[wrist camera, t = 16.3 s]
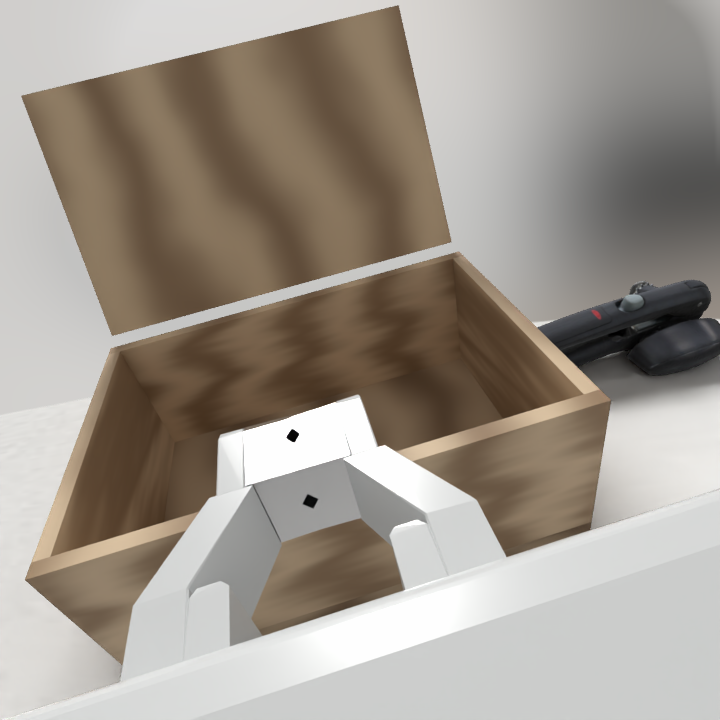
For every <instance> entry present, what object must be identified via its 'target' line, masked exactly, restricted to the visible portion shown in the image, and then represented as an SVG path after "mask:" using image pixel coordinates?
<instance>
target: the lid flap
mask: <svg viewBox="0 0 720 720" xmlns="http://www.w3.org/2000/svg"><path fill="white" fill-rule="evenodd" d="M22 99H23V102H24V104H25V107H26V110H27V112H28V115H29V118H30V120H31V123H32V126H33V128H34V131H35V133H36V136H37V139H38V141H39V144H40V147H41V149H42V152H43V155H44V157H45V160H46V163H47V165H48V168H49V170H50V173H51V176H52V178H53V181H54V183H55V186H56V189H57V192H58V194H59V197H60V199H61V202H62V205H63V207H64V210H65V213H66V215H67V218H68V221H69V223H70V226H71V229H72V231H73V234H74V236H75V239H76V242H77V244H78V247H79V250H80V252H81V255H82V258H83V260H84V263H85V266H86V268H87V271H88V273H89V276H90V279H91V281H92V284H93V287H94V289H95V292H96V295H97V297H98V300H99V303H100V305H101V308H102V310H103V313H104V316H105V318H106V321H107V324H108V326H109V329H110V332H111V334H112V335H117V334H121V333H124V332H127V331H131V330H135V329H138V328H142V327H146V326H149V325H153V324H157V323H160V322H164V321H168V320H171V319H175V318H178V317H182V316H186V315H189V314H193V313H196V312H200V311H204V310H207V309H211V308H215V307H218V306H222V305H225V304H229V303H233V302H236V301H240V300H244V299H247V298H251V297H254V296H258V295H262V294H265V293H269V292H273V291H276V290H280V289H283V288H287V287H291V286H294V285H298V284H301V283H305V282H309V281H312V280H316V279H320V278H323V277H327V276H331V275H334V274H338V273H341V272H345V271H349V270H352V269H356V268H359V267H363V266H366V265H370V264H373V263H377V262H381V261H385V260H388V259H392V258H396V257H399V256H403V255H406V254H410V253H413V252H417V251H421V250H425V249H428V248H432V247H435V246H439V245H443V244H446V243H450V242H451V238H450V233H449V229H448V224H447V220H446V215H445V211H444V206H443V202H442V197H441V193H440V188H439V184H438V179H437V175H436V170H435V166H434V162H433V157H432V153H431V149H430V144H429V139H428V135H427V131H426V126H425V121H424V117H423V112H422V108H421V104H420V99H419V95H418V90H417V86H416V81H415V77H414V72H413V68H412V63H411V59H410V55H409V50H408V45H407V41H406V37H405V32H404V28H403V23H402V19H401V14H400V10H399V6H394V7H389V8H385V9H381V10H377V11H373V12H369V13H365V14H360V15H356V16H352V17H348V18H344V19H339V20H335V21H331V22H327V23H323V24H319V25H314V26H311V27H307V28H302V29H298V30H294V31H289V32H285V33H281V34H277V35H273V36H269V37H265V38H260V39H257V40H252V41H248V42H244V43H239V44H236V45H231V46H227V47H223V48H219V49H215V50H210V51H206V52H202V53H198V54H194V55H189V56H185V57H181V58H177V59H173V60H169V61H164V62H160V63H156V64H152V65H148V66H144V67H139V68H135V69H131V70H127V71H123V72H119V73H114V74H110V75H106V76H102V77H98V78H94V79H89V80H85V81H81V82H77V83H73V84H69V85H65V86H60V87H56V88H52V89H48V90H44V91H40V92H35V93H31V94H27V95H23V96H22Z"/></svg>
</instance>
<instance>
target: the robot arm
mask: <svg viewBox="0 0 720 720" xmlns="http://www.w3.org/2000/svg"><path fill="white" fill-rule="evenodd" d="M336 404H337V405H336ZM337 408H338V409H337ZM359 518H362V520H363V521H364V522H365V523H366V524H367V525H368V526H370V527H371V528H372V529H373V530H374V531H375V532H376V533H377V534H379V535H380V536H381V537H382V538H383V539H384V540H385V541H386V542H388V543H389V544H390V545H391V546H392V547H393V551H394V555H395V559H396V563H397V567H398V571H399V575H400V579H401V583H402V587H403V591H401V592H397V593H394V594H391V595H388V596H385V597H382V598H379V599H376V600H373V601H370V602H367V603H363V604H360V605H357V606H354V607H351V608H348V609H345V610H342V611H339V612H336V613H333V614H329V615H326V616H323V617H320V618H317V619H314V620H311V621H308V622H305V623H302V624H299V625H295V626H292V627H289V628H286V629H283V630H280V631H277V632H274V633H271V634H268V635H264V636H262V634H261V633H260V631H259V630H258V628H257V627H256V625H255V624H254V622H253V621H252V619H251V618H252V615H253V613H254V611H255V608H256V606H257V603H258V601H259V599H260V596H261V594H262V591H263V589H264V587H265V584H266V582H267V579H268V577H269V575H270V572H271V570H272V567H273V565H274V563H275V560H276V558H277V556H278V553H279V551H280V548H281V546H282V544H281V543H282V542H285V541H288V540H291V539H293V538H296V537H299V536H302V535H305V534H308V533H311V532H314V531H317V530H320V529H323V528H327V527H331V526H334V525H338V524H341V523H345V522H348V521H352V520H355V519H359ZM3 720H720V489H717V490H714V491H711V492H708V493H704V494H701V495H698V496H695V497H692V498H689V499H686V500H683V501H680V502H677V503H673V504H670V505H667V506H664V507H661V508H658V509H655V510H652V511H649V512H646V513H642V514H639V515H636V516H633V517H630V518H627V519H624V520H621V521H618V522H615V523H611V524H608V525H605V526H602V527H599V528H596V529H593V530H590V531H587V532H583V533H580V534H577V535H574V536H571V537H568V538H565V539H562V540H559V541H556V542H552V543H549V544H546V545H543V546H540V547H537V548H534V549H531V550H528V551H525V552H521V553H518V554H515V555H512V556H509V557H506V555H505V553H504V551H503V549H502V548H501V546H500V544H499V542H498V540H497V538H496V536H495V534H494V532H493V530H492V528H491V526H490V525H489V523H488V521H487V519H486V517H485V515H484V513H483V511H482V509H481V507H480V505H479V503H478V502H477V500H476V499H475V498H473V497H471V496H470V495H468V494H466V493H464V492H463V491H461V490H459V489H458V488H456V487H454V486H453V485H451V484H449V483H448V482H446V481H444V480H443V479H441V478H439V477H438V476H436V475H434V474H433V473H431V472H429V471H428V470H426V469H424V468H422V467H421V466H419V465H417V464H416V463H414V462H412V461H411V460H409V459H407V458H406V457H404V456H402V455H401V454H399V453H397V452H396V451H394V450H392V449H391V448H389V447H387V446H386V445H385V446H381V447H378V445H377V442H376V439H375V436H374V434H373V431H372V428H371V425H370V422H369V419H368V417H367V414H366V411H365V408H364V405H363V403H362V400H361V397H360V396H359V395H355V396H352V397H348V398H345V399H342V400H339V401H336V402H334V403H331V404H328V405H324V406H321V407H317V408H314V409H311V410H307V411H304V412H301V413H297V414H294V415H290V416H287V417H283V418H279V419H275V420H272V421H268V422H264V423H260V424H257V425H253V426H249V427H245V428H244V429H239V430H236V431H232V432H228V433H225V434H221V435H220V437H219V439H218V457H217V489H216V496H214V497H211V498H209V499H208V500H207V502H206V503H205V505H204V506H203V507H202V509H201V510H200V512H199V513H198V514H197V516H196V517H195V519H194V520H193V522H192V523H191V524H190V526H189V527H188V529H187V530H186V531H185V533H184V534H183V536H182V537H181V539H180V540H179V541H178V543H177V544H176V546H175V547H174V548H173V550H172V551H171V553H170V554H169V556H168V557H167V558H166V560H165V561H164V563H163V564H162V566H161V567H160V568H159V570H158V571H157V573H156V574H155V575H154V577H153V578H152V580H151V581H150V583H149V584H148V585H147V587H146V588H145V590H144V591H143V592H142V594H141V595H140V597H139V598H138V600H137V601H136V602H135V604H134V605H133V608H132V614H131V620H130V626H129V632H128V638H127V643H126V649H125V655H124V661H123V667H122V672H121V678H120V682H118V683H115V684H112V685H109V686H105V687H102V688H99V689H96V690H93V691H90V692H87V693H84V694H81V695H77V696H74V697H71V698H68V699H65V700H62V701H59V702H56V703H53V704H50V705H46V706H43V707H40V708H37V709H34V710H31V711H28V712H25V713H22V714H19V715H15V716H12V717H9V718H6V719H3Z"/></svg>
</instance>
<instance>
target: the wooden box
mask: <svg viewBox="0 0 720 720" xmlns="http://www.w3.org/2000/svg"><path fill="white" fill-rule="evenodd" d="M355 395H359V396H360V397H361V400H362V403H363V405H364V408H365V411H366V414H367V417H368V419H369V422H370V425H371V428H372V431H373V434H374V436H375V439H376V442H377V445H378V447H381V446H385V445H386V446H387V447H389V448H391V449H392V450H394V451H396V452H397V453H399V454H401V455H402V456H404V457H406V458H407V459H409V460H411V461H412V462H414V463H416V464H417V465H419V466H421V467H422V468H424V469H426V470H428V471H429V472H431V473H433V474H434V475H436V476H438V477H439V478H441V479H443V480H444V481H446V482H448V483H449V484H451V485H453V486H454V487H456V488H458V489H459V490H461V491H463V492H464V493H466V494H468V495H470V496H471V497H473V498H475V499H476V500H477V502H478V503H479V505H480V507H481V509H482V511H483V513H484V515H485V517H486V519H487V521H488V523H489V525H490V526H491V528H492V530H493V532H494V534H495V536H496V538H497V540H498V542H499V544H500V546H501V548H502V549H503V551H504V553H505V555H506V557H509V556H512V555H515V554H518V553H521V552H524V551H527V550H530V549H534V548H537V547H540V546H543V545H546V544H549V543H552V542H555V541H558V540H561V539H564V538H567V537H570V536H574V535H577V534H580V533H583V532H586V531H589V530H590V527H591V521H592V515H593V509H594V503H595V496H596V490H597V484H598V478H599V472H600V466H601V459H602V453H603V447H604V441H605V435H606V428H607V422H608V416H609V410H610V404H611V400H610V399H609V398H608V397H607V396H606V395H605V394H604V393H603V392H602V391H601V390H600V389H599V388H598V387H597V386H596V385H595V384H594V383H593V382H592V381H591V380H590V379H589V378H588V377H587V376H586V375H585V374H584V373H583V372H582V371H581V370H580V369H579V368H578V367H577V366H576V365H575V364H573V363H572V362H571V361H570V360H569V359H568V358H567V357H566V356H565V355H564V354H563V353H562V352H561V351H560V350H559V349H558V348H557V347H556V346H555V345H554V344H553V343H552V342H551V341H550V340H549V339H548V338H547V337H546V336H545V335H544V334H543V333H542V332H541V331H540V330H539V329H538V328H537V327H536V326H535V325H534V324H533V323H532V322H531V321H529V320H528V319H527V318H526V317H525V316H524V315H523V314H522V313H521V312H520V311H519V310H518V309H517V308H516V307H515V306H514V305H513V304H512V303H511V302H510V301H509V300H508V299H507V298H506V297H505V296H504V295H503V294H502V293H501V292H500V291H499V290H498V289H497V288H496V287H495V286H494V285H493V284H492V283H490V281H489V280H487V279H486V278H485V277H484V276H483V275H482V274H481V273H480V272H479V271H478V270H477V269H476V268H475V267H474V266H473V265H472V264H471V263H470V262H469V261H468V260H467V259H466V258H465V257H464V256H463V255H462V254H461V253H460V252H456V253H452V254H449V255H445V256H441V257H438V258H434V259H430V260H427V261H423V262H420V263H416V264H412V265H409V266H406V267H402V268H398V269H395V270H391V271H387V272H384V273H380V274H377V275H373V276H369V277H366V278H362V279H359V280H355V281H351V282H348V283H344V284H341V285H337V286H333V287H330V288H326V289H323V290H319V291H315V292H312V293H308V294H305V295H301V296H297V297H294V298H290V299H287V300H283V301H280V302H276V303H273V304H269V305H265V306H261V307H258V308H254V309H251V310H247V311H243V312H240V313H237V314H233V315H229V316H225V317H222V318H218V319H215V320H211V321H208V322H204V323H200V324H197V325H193V326H190V327H186V328H182V329H179V330H175V331H172V332H168V333H164V334H161V335H158V336H154V337H150V338H146V339H143V340H139V341H136V342H132V343H128V344H125V345H121V346H118V347H114V348H111V349H110V352H109V355H108V358H107V360H106V363H105V366H104V368H103V371H102V374H101V376H100V379H99V382H98V384H97V387H96V390H95V393H94V395H93V398H92V400H91V403H90V406H89V409H88V411H87V414H86V417H85V419H84V422H83V425H82V427H81V430H80V433H79V435H78V438H77V441H76V444H75V446H74V449H73V452H72V454H71V457H70V460H69V462H68V465H67V468H66V470H65V473H64V476H63V479H62V481H61V484H60V487H59V489H58V492H57V495H56V497H55V500H54V503H53V505H52V508H51V511H50V514H49V516H48V519H47V522H46V524H45V527H44V530H43V532H42V535H41V538H40V541H39V543H38V546H37V549H36V551H35V554H34V557H33V559H32V562H31V565H30V567H29V570H28V573H27V576H26V578H25V581H27V582H28V583H29V584H30V585H31V586H32V587H33V588H35V589H36V590H37V591H38V592H39V593H40V594H42V595H43V596H44V597H45V598H46V599H47V600H48V601H50V602H51V603H52V604H53V605H54V606H55V607H56V608H58V609H59V610H60V611H61V612H62V613H63V614H64V615H66V616H67V617H68V618H69V619H70V620H71V621H72V622H74V623H75V624H76V625H77V626H78V627H79V628H81V629H82V630H83V631H84V632H85V633H86V634H87V635H89V636H90V637H91V638H92V639H93V640H94V641H95V642H97V643H98V644H99V645H100V646H101V647H102V648H103V649H105V650H106V651H107V652H108V653H109V654H110V655H111V656H113V657H114V658H115V659H116V660H117V661H118V662H120V663H121V664H122V665H123V661H124V655H125V649H126V643H127V638H128V632H129V626H130V620H131V614H132V608H133V605H134V604H135V602H136V601H137V600H138V598H139V597H140V595H141V594H142V592H143V591H144V590H145V588H146V587H147V585H148V584H149V583H150V581H151V580H152V578H153V577H154V575H155V574H156V573H157V571H158V570H159V568H160V567H161V566H162V564H163V563H164V561H165V560H166V558H167V557H168V556H169V554H170V553H171V551H172V550H173V548H174V547H175V546H176V544H177V543H178V541H179V540H180V539H181V537H182V536H183V534H184V533H185V531H186V530H187V529H188V527H189V526H190V524H191V523H192V522H193V520H194V519H195V517H196V516H197V514H198V513H199V512H200V510H201V509H202V507H203V506H204V505H205V503H206V502H207V500H208V499H209V498H211V497H214V496H216V489H217V457H218V439H219V437H220V435H221V434H225V433H228V432H232V431H236V430H239V429H244V428H245V427H249V426H253V425H257V424H260V423H264V422H268V421H272V420H275V419H279V418H283V417H287V416H290V415H294V414H297V413H301V412H304V411H307V410H311V409H314V408H317V407H321V406H324V405H328V404H331V403H334V402H336V401H339V400H342V399H345V398H348V397H352V396H355ZM336 405H337V404H336ZM337 409H338V408H337ZM281 544H282V546H281V548H280V551H279V553H278V556H277V558H276V560H275V563H274V565H273V567H272V570H271V572H270V575H269V577H268V579H267V582H266V584H265V587H264V589H263V591H262V594H261V596H260V599H259V601H258V603H257V606H256V608H255V611H254V613H253V615H252V618H251V619H252V621H253V622H254V624H255V625H256V627H257V628H258V630H259V631H260V633H261V634H262V636H264V635H268V634H271V633H274V632H277V631H280V630H283V629H286V628H289V627H292V626H295V625H299V624H302V623H305V622H308V621H311V620H314V619H317V618H320V617H323V616H326V615H329V614H333V613H336V612H339V611H342V610H345V609H348V608H351V607H354V606H357V605H360V604H363V603H367V602H370V601H373V600H376V599H379V598H382V597H385V596H388V595H391V594H394V593H397V592H401V591H403V587H402V583H401V579H400V575H399V571H398V567H397V563H396V559H395V555H394V551H393V547H392V546H391V545H390V544H389V543H388V542H386V541H385V540H384V539H383V538H382V537H381V536H380V535H379V534H377V533H376V532H375V531H374V530H373V529H372V528H371V527H370V526H368V525H367V524H366V523H365V522H364V521H363V520H362V518H359V519H355V520H352V521H348V522H345V523H341V524H338V525H334V526H331V527H327V528H323V529H320V530H317V531H314V532H311V533H308V534H305V535H302V536H299V537H296V538H293V539H291V540H288V541H285V542H282V543H281Z"/></svg>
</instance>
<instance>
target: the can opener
mask: <svg viewBox="0 0 720 720" xmlns="http://www.w3.org/2000/svg"><path fill="white" fill-rule="evenodd" d="M710 301H711V294H710V291H709V289H708V287H707V286H706V285H705V284H704V283H703V282H701V281H697V280H686V281H681V282H678V283H674V284H671V285H667V286H664V287H660V288H658V287H654V286H653V284H651V285H649V283H648V282H645V281H640V282H637V283H635V284H634V285H633V286H632V287H631V289H630V293H629V295H627V296H626V297H625V298H621V299H618V300H614V301H612V302H608V303H605V304H602V305H599V306H596V307H592V308H589V309H587V310H583V311H581V312H578V313H575V314H572V315H569V316H566V317H564V318H561V319H558V320H555V321H553V322H550V323H548V324H545V325H543V326H540V327H538V329H539V330H540V331H541V332H542V333H543V334H544V335H545V336H546V337H547V338H548V339H549V340H550V341H551V342H552V343H553V344H554V345H555V346H556V347H557V348H558V349H559V350H560V351H561V352H562V353H563V354H564V355H565V356H566V357H567V358H568V359H569V360H570V361H571V362H572V363H573V364H575V365H576V366H580V365H583V364H585V363H588V362H590V361H593V360H595V359H598V358H601V357H603V356H606V355H609V354H612V353H615V352H620V351H624V350H631V349H632V350H631V351H630V352H629V354H628V359H629V360H631V361H632V362H633V363H635V364H636V365H637V366H638V367H640V368H641V369H642V370H644V371H645V372H646V373H648V374H650V375H666V374H671V373H676V372H679V371H683V370H686V369H690V368H692V367H695V366H698V365H700V364H702V363H704V362H707V361H709V360H710V359H712V358H714V357H716V356H717V355H719V354H720V324H719V322H718V321H717V320H715V319H712V318H703V319H702V318H700V317H701V316H702V314H703V312H704V311H705V310H706V309H707V308H708V306H709V304H710ZM699 318H700V319H699Z"/></svg>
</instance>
